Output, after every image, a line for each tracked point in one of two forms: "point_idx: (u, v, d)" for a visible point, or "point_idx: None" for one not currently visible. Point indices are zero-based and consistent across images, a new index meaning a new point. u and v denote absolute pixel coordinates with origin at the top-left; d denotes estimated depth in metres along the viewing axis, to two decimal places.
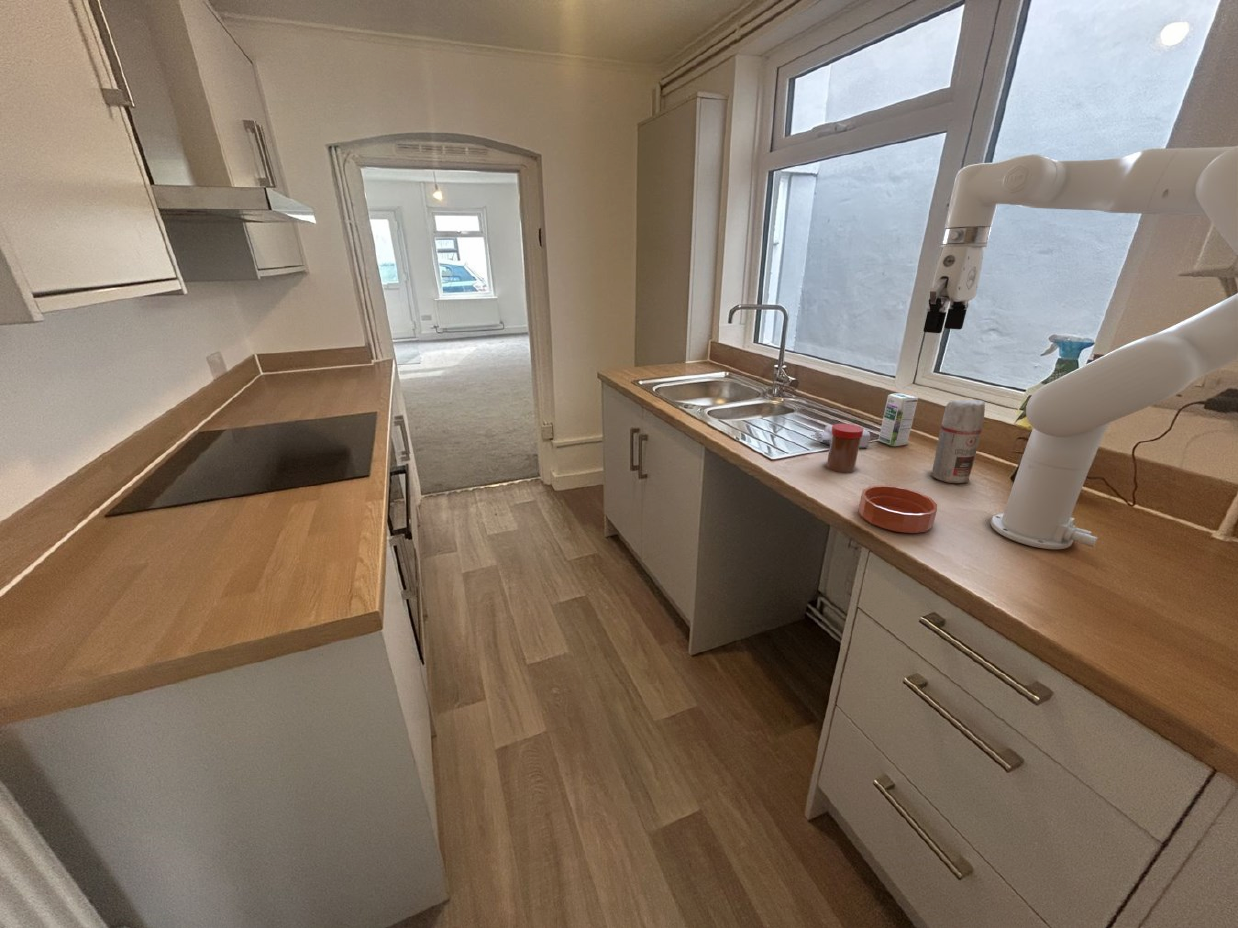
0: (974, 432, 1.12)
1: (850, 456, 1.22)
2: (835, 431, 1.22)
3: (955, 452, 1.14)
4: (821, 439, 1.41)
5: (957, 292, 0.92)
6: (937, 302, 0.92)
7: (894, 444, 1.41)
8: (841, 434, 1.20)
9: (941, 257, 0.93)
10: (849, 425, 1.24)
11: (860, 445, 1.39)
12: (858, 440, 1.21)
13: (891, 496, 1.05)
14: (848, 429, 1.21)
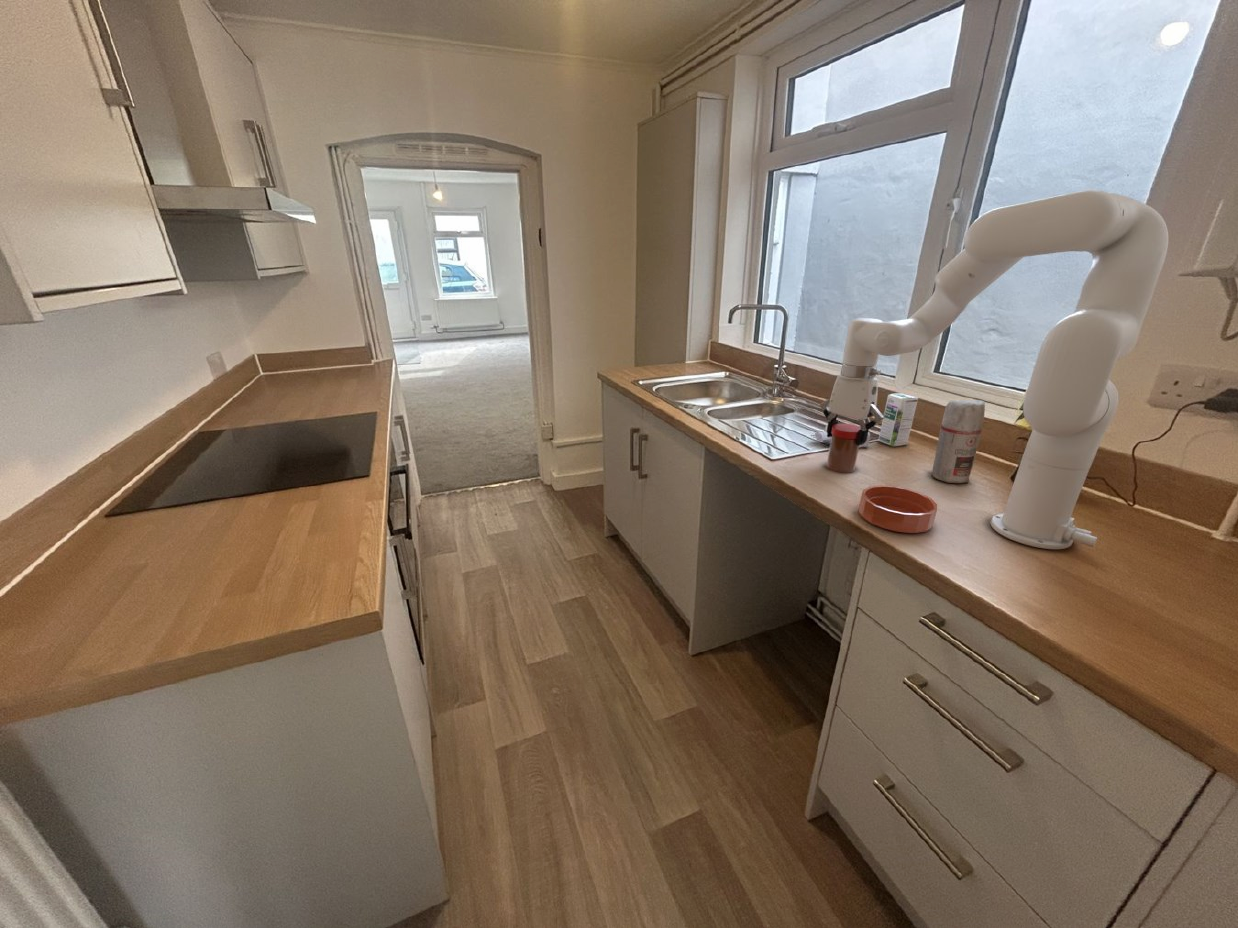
0: (974, 432, 1.12)
1: (850, 456, 1.22)
2: (835, 431, 1.22)
3: (955, 452, 1.14)
4: (821, 439, 1.41)
5: None
6: (876, 423, 1.17)
7: (894, 444, 1.41)
8: (841, 434, 1.20)
9: (869, 388, 1.14)
10: (849, 425, 1.24)
11: (860, 445, 1.39)
12: None
13: (891, 496, 1.05)
14: (848, 429, 1.21)
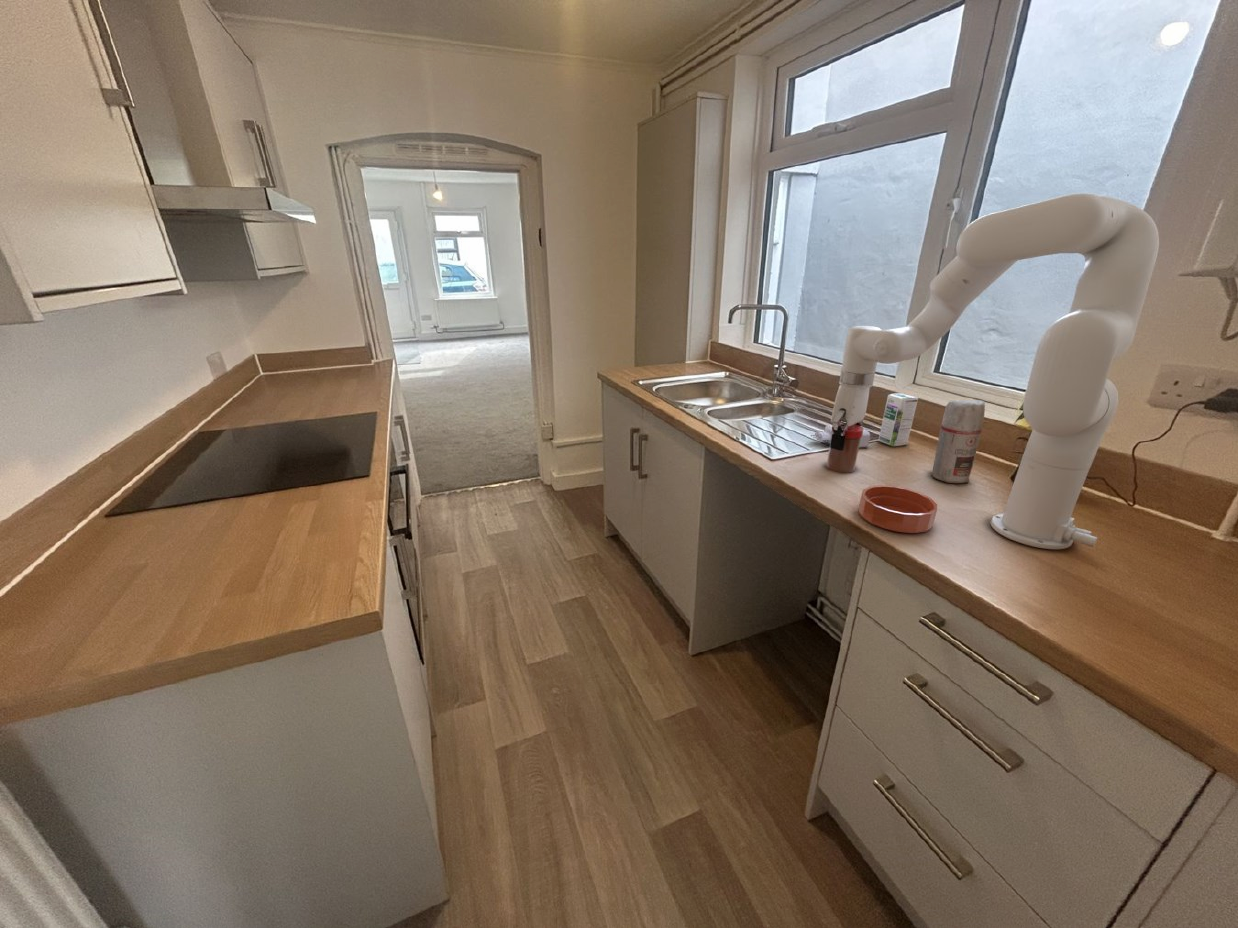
0: (974, 432, 1.12)
1: (850, 456, 1.22)
2: (859, 433, 1.20)
3: (955, 452, 1.14)
4: (821, 439, 1.41)
5: None
6: None
7: (894, 444, 1.41)
8: (862, 433, 1.21)
9: None
10: None
11: (860, 445, 1.39)
12: (858, 440, 1.21)
13: (891, 496, 1.05)
14: (854, 427, 1.22)
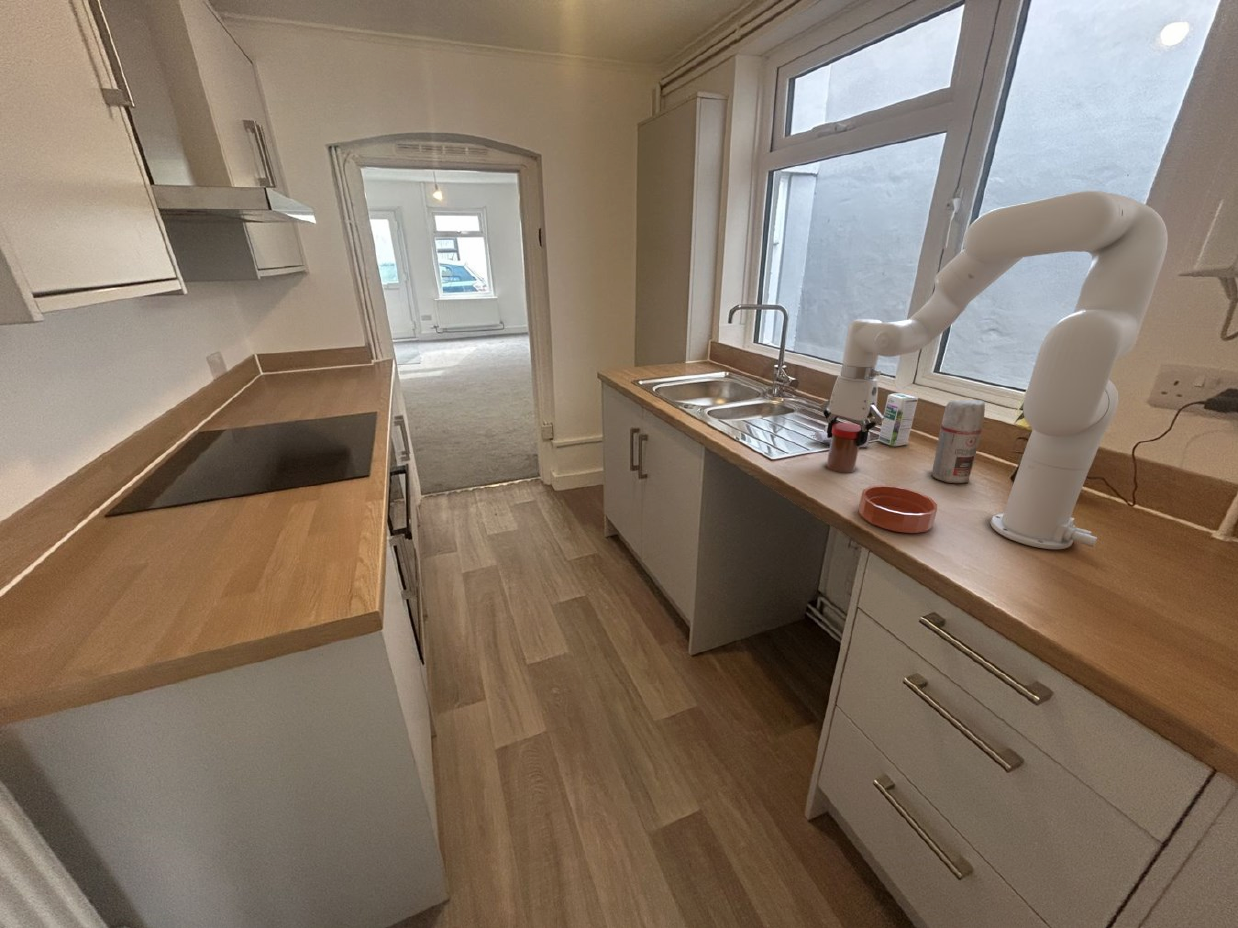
0: (974, 432, 1.12)
1: (850, 456, 1.22)
2: None
3: (955, 452, 1.14)
4: (821, 439, 1.41)
5: None
6: (876, 424, 1.17)
7: (894, 444, 1.41)
8: None
9: (869, 389, 1.14)
10: (838, 425, 1.23)
11: None
12: None
13: (891, 496, 1.05)
14: (854, 427, 1.22)
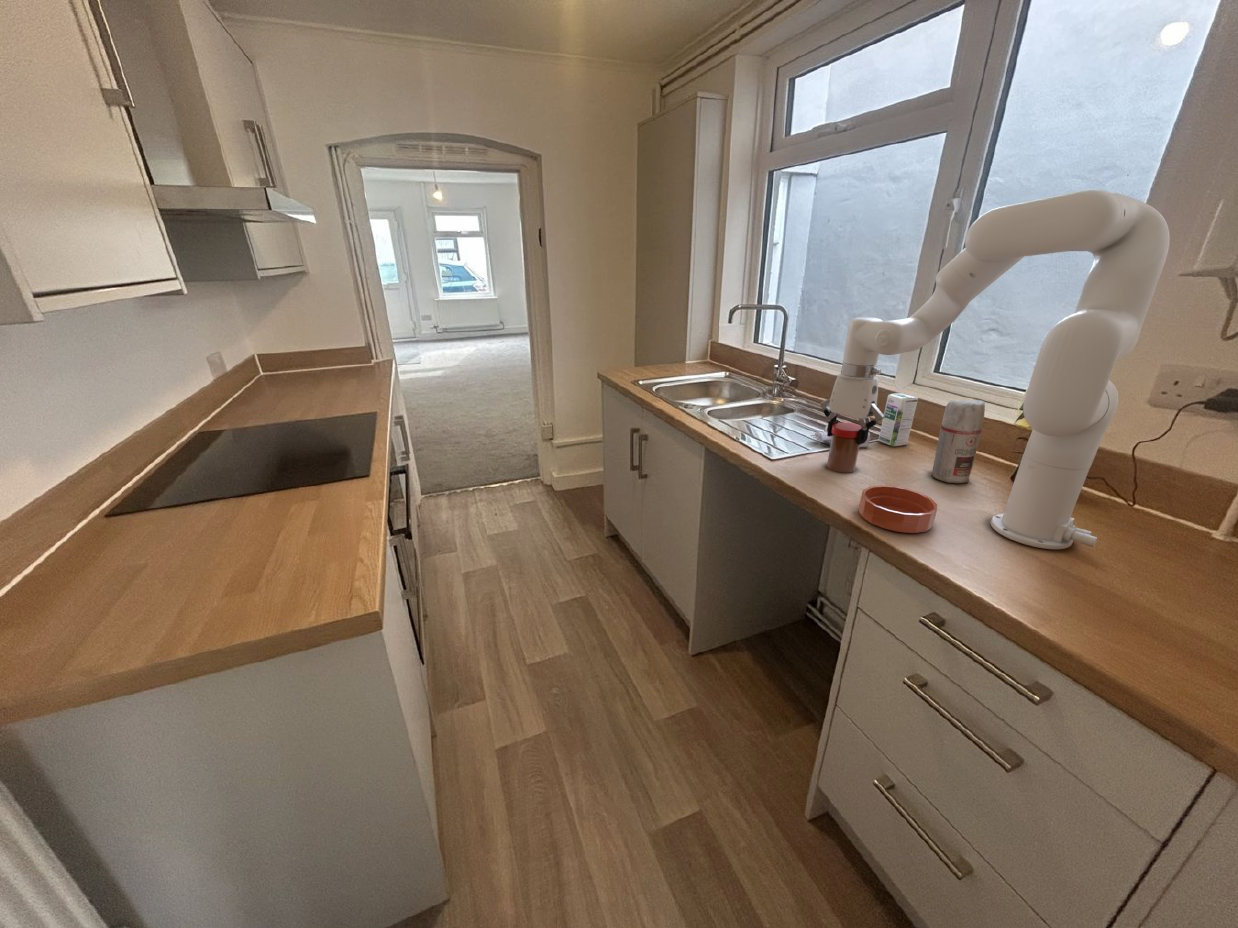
0: (974, 432, 1.12)
1: (851, 456, 1.22)
2: None
3: (955, 452, 1.14)
4: (821, 439, 1.41)
5: None
6: (877, 423, 1.17)
7: (894, 444, 1.41)
8: None
9: (869, 388, 1.14)
10: (848, 429, 1.20)
11: (860, 445, 1.39)
12: None
13: (891, 496, 1.05)
14: (845, 424, 1.24)
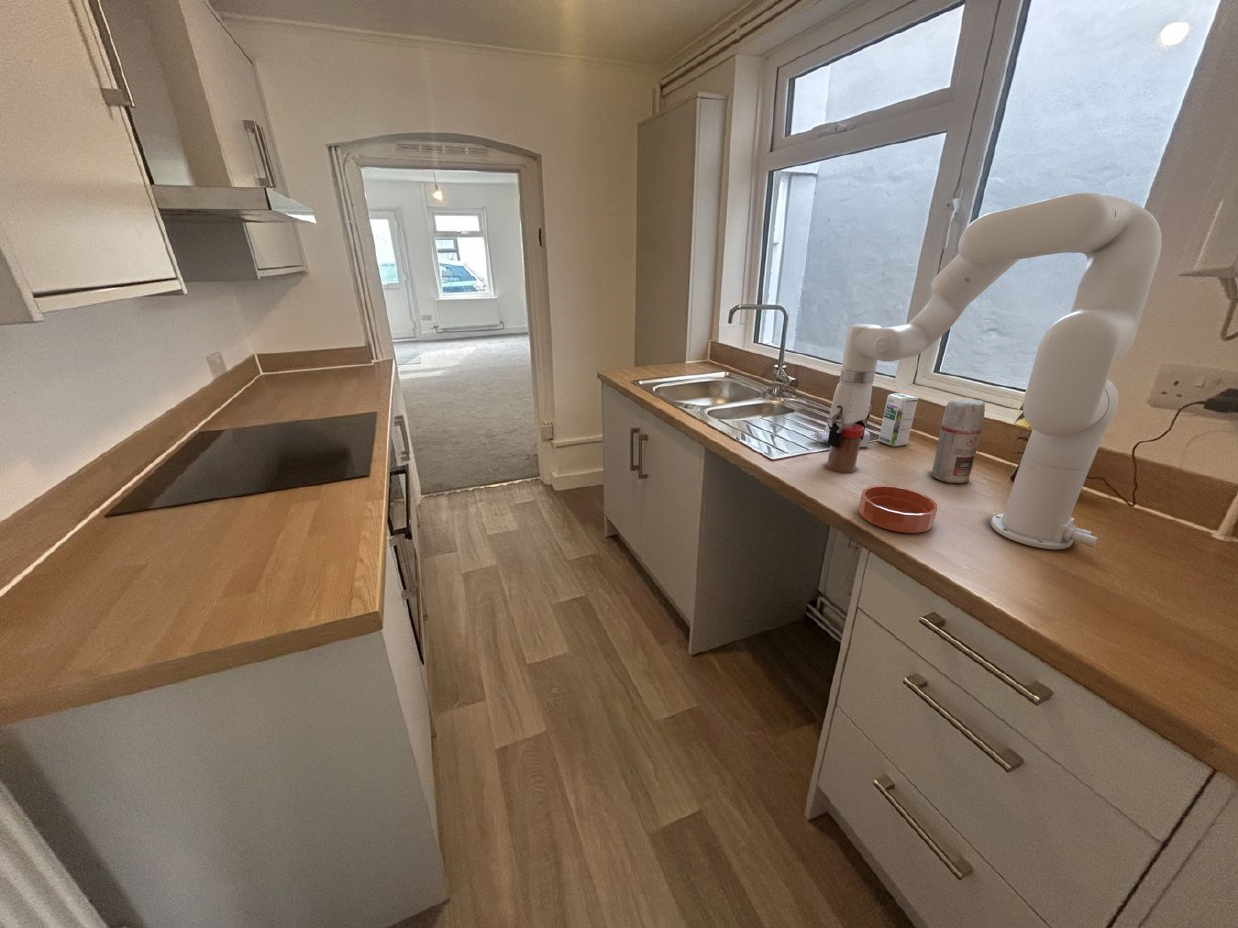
0: (974, 432, 1.12)
1: (852, 456, 1.22)
2: None
3: (955, 452, 1.14)
4: (821, 439, 1.41)
5: None
6: None
7: (894, 444, 1.41)
8: None
9: None
10: (857, 426, 1.22)
11: (860, 445, 1.39)
12: (859, 440, 1.21)
13: (891, 496, 1.05)
14: None
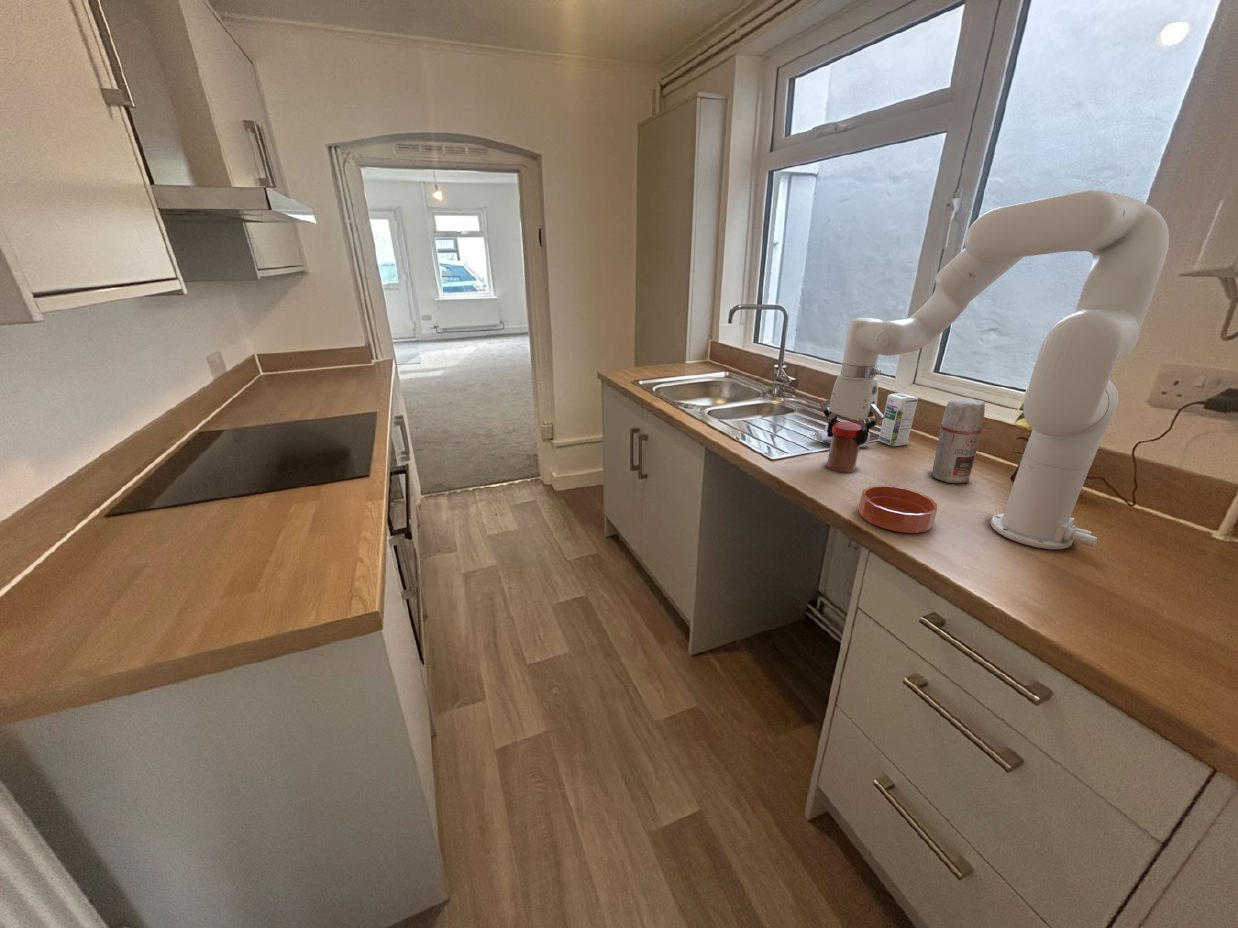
0: (974, 432, 1.12)
1: (852, 456, 1.22)
2: None
3: (955, 452, 1.14)
4: (821, 439, 1.41)
5: None
6: (877, 423, 1.17)
7: (894, 444, 1.41)
8: (832, 428, 1.24)
9: (869, 388, 1.14)
10: (857, 426, 1.22)
11: (860, 445, 1.39)
12: None
13: (891, 496, 1.05)
14: (842, 426, 1.22)
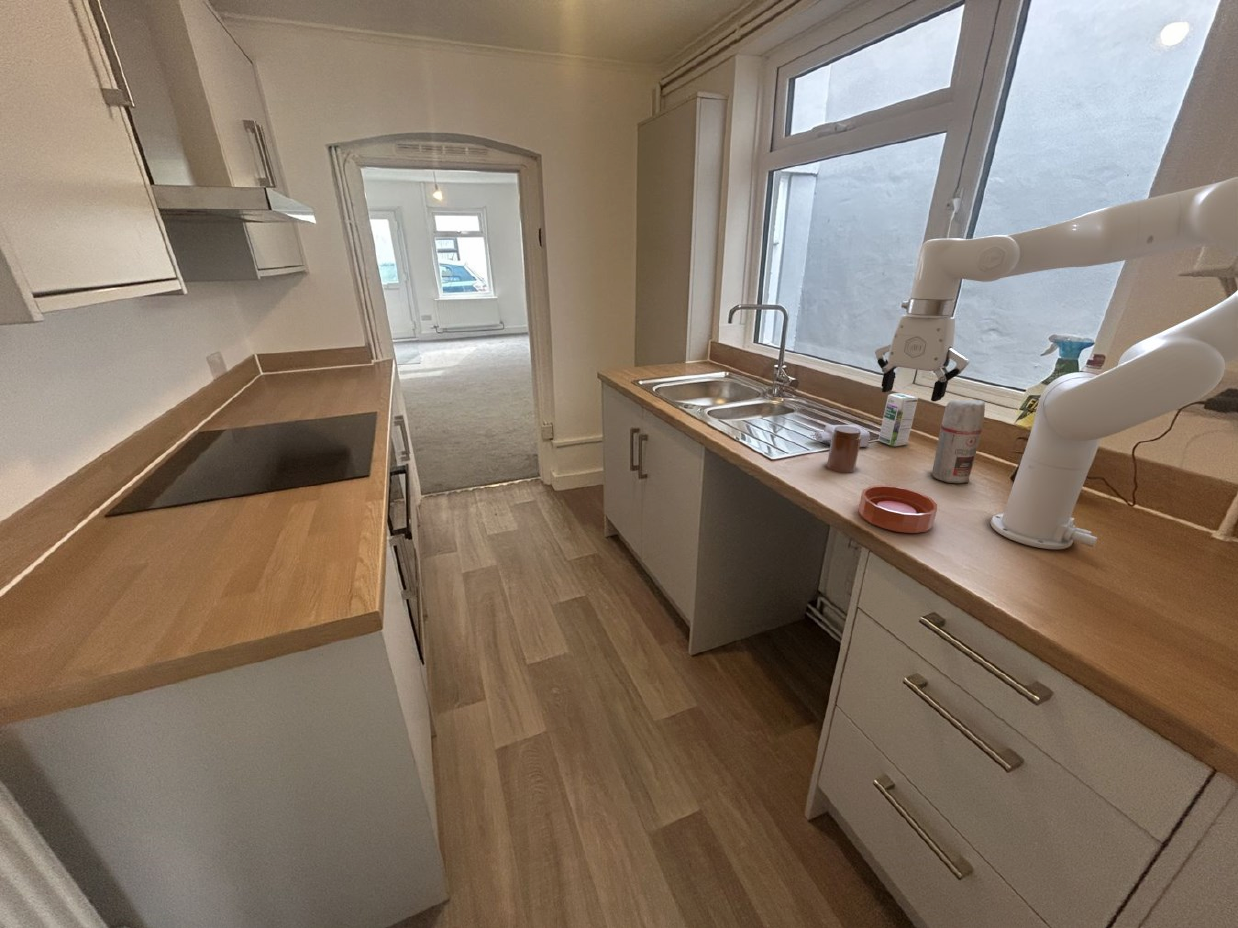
0: (974, 432, 1.12)
1: (852, 456, 1.22)
2: None
3: (955, 452, 1.14)
4: (821, 439, 1.41)
5: (889, 356, 0.98)
6: (878, 362, 1.02)
7: (894, 444, 1.41)
8: None
9: None
10: (884, 507, 1.01)
11: (860, 445, 1.39)
12: (859, 440, 1.21)
13: (891, 496, 1.05)
14: (903, 508, 1.00)
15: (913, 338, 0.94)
